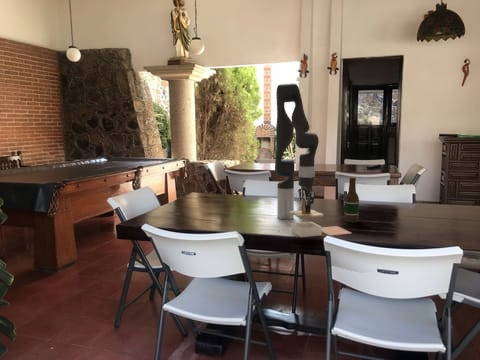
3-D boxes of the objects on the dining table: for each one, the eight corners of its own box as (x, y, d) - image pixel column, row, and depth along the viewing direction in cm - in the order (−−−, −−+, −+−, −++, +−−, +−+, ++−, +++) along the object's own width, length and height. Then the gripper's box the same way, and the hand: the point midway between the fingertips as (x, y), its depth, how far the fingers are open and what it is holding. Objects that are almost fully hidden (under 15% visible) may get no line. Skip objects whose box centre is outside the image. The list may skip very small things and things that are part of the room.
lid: (289, 212, 188) (289, 199, 187) (311, 211, 191) (311, 197, 190) (300, 218, 176) (300, 203, 175) (323, 216, 180) (323, 201, 179)
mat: (315, 228, 194) (316, 228, 194) (336, 226, 198) (336, 226, 198) (330, 236, 181) (330, 235, 181) (352, 233, 184) (352, 233, 184)
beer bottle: (356, 219, 212) (357, 176, 209) (360, 223, 204) (362, 178, 201) (342, 219, 212) (343, 176, 209) (346, 223, 204) (347, 178, 201)
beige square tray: (291, 232, 189) (291, 223, 188) (310, 230, 192) (311, 221, 191) (300, 238, 179) (301, 228, 178) (321, 236, 182) (321, 226, 181)
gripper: (293, 174, 187) (292, 209, 189) (306, 177, 173) (305, 215, 176) (307, 173, 189) (306, 208, 191) (321, 177, 176) (320, 213, 178)
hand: (306, 211), depth 184 cm, fingers closed on lid, 3 cm apart
